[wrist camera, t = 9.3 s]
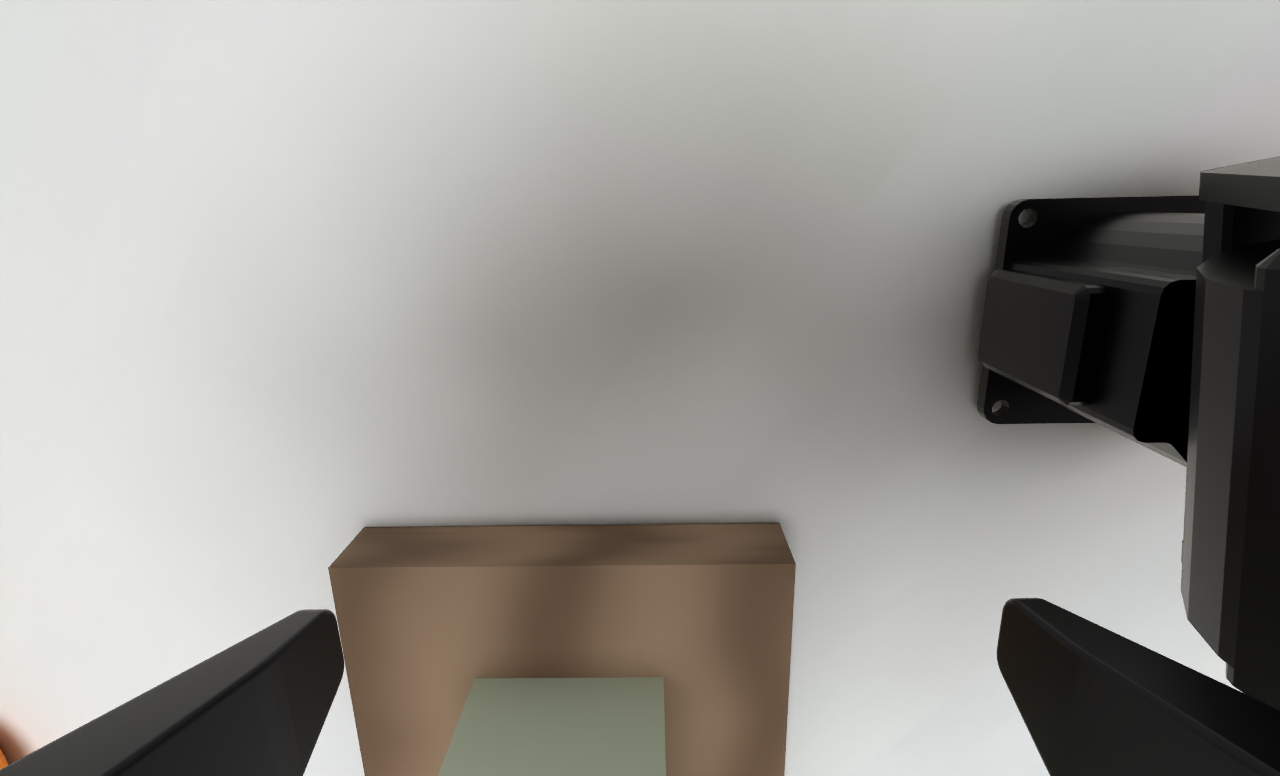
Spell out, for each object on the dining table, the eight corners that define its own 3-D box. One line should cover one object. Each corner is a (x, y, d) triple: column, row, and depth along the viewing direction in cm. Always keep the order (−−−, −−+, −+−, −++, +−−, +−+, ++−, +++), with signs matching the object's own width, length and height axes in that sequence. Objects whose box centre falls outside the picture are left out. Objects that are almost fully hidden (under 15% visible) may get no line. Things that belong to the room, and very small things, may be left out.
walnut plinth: (779, 523, 21) (795, 563, 19) (764, 843, 25) (776, 910, 23) (364, 527, 22) (328, 568, 19) (413, 842, 25) (388, 909, 23)
